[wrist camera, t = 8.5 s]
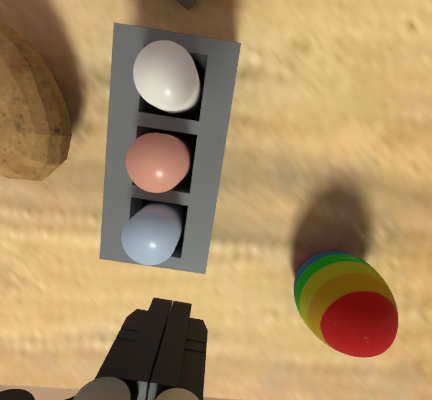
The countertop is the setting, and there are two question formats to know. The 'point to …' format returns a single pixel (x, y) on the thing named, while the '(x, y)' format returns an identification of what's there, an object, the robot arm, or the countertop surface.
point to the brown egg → (158, 161)
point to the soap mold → (187, 3)
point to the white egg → (168, 78)
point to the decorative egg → (346, 304)
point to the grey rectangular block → (149, 121)
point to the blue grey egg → (153, 232)
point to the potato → (29, 112)
